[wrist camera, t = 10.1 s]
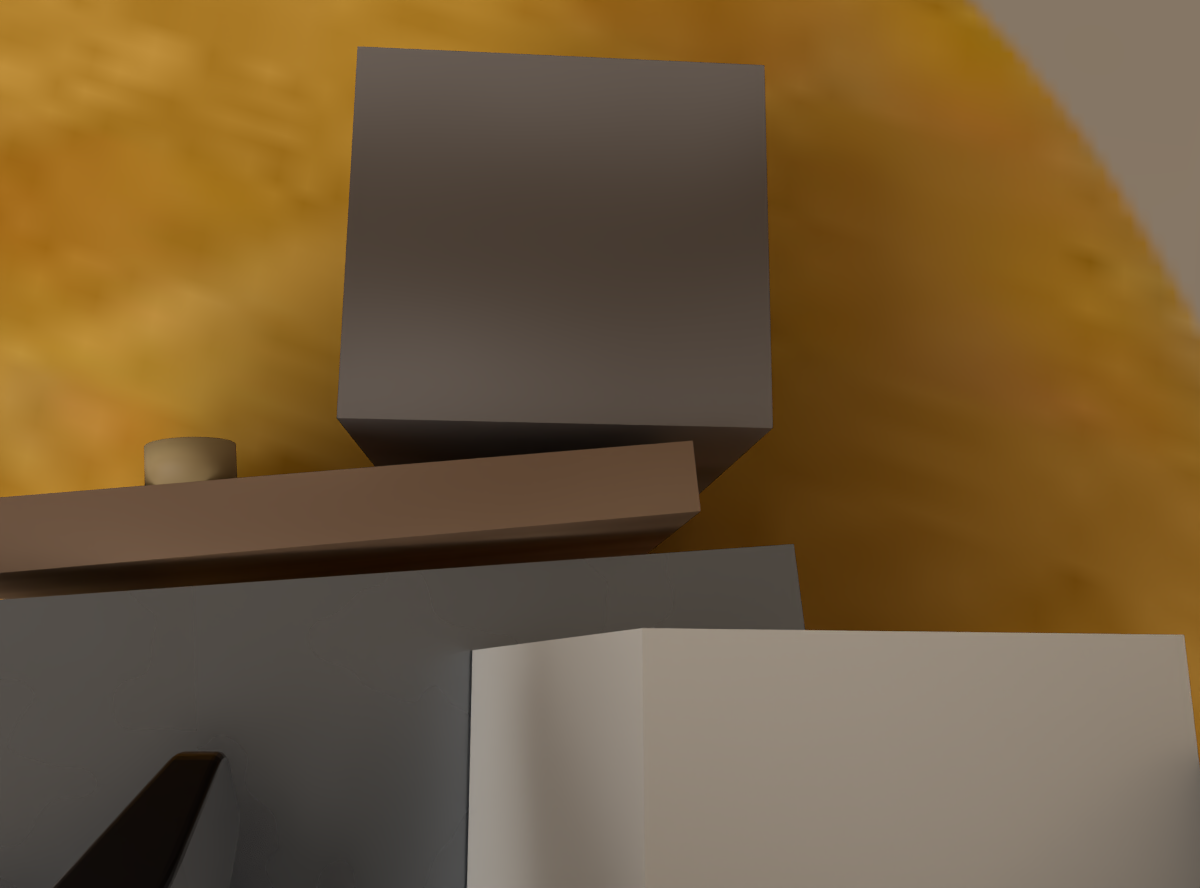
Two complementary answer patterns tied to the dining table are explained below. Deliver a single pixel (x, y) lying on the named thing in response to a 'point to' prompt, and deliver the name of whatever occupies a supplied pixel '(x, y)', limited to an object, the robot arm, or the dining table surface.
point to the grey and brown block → (314, 700)
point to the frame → (340, 518)
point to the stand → (555, 257)
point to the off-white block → (834, 761)
